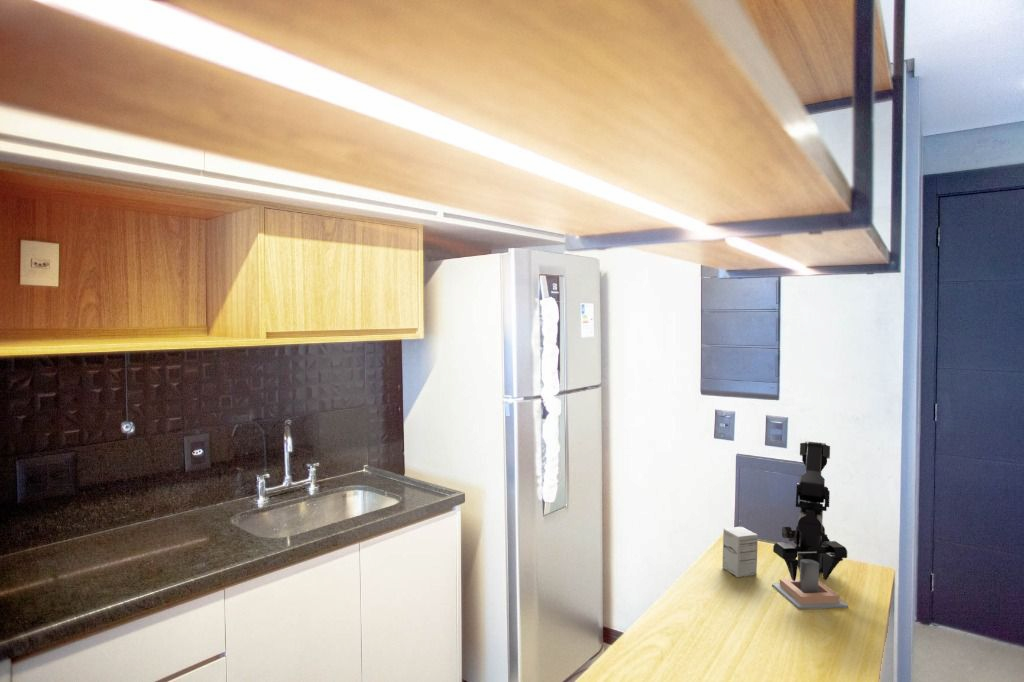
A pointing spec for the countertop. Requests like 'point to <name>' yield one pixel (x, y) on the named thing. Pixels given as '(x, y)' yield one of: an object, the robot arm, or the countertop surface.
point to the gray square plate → (809, 595)
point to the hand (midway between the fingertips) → (809, 580)
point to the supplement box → (740, 551)
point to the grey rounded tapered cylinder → (809, 576)
